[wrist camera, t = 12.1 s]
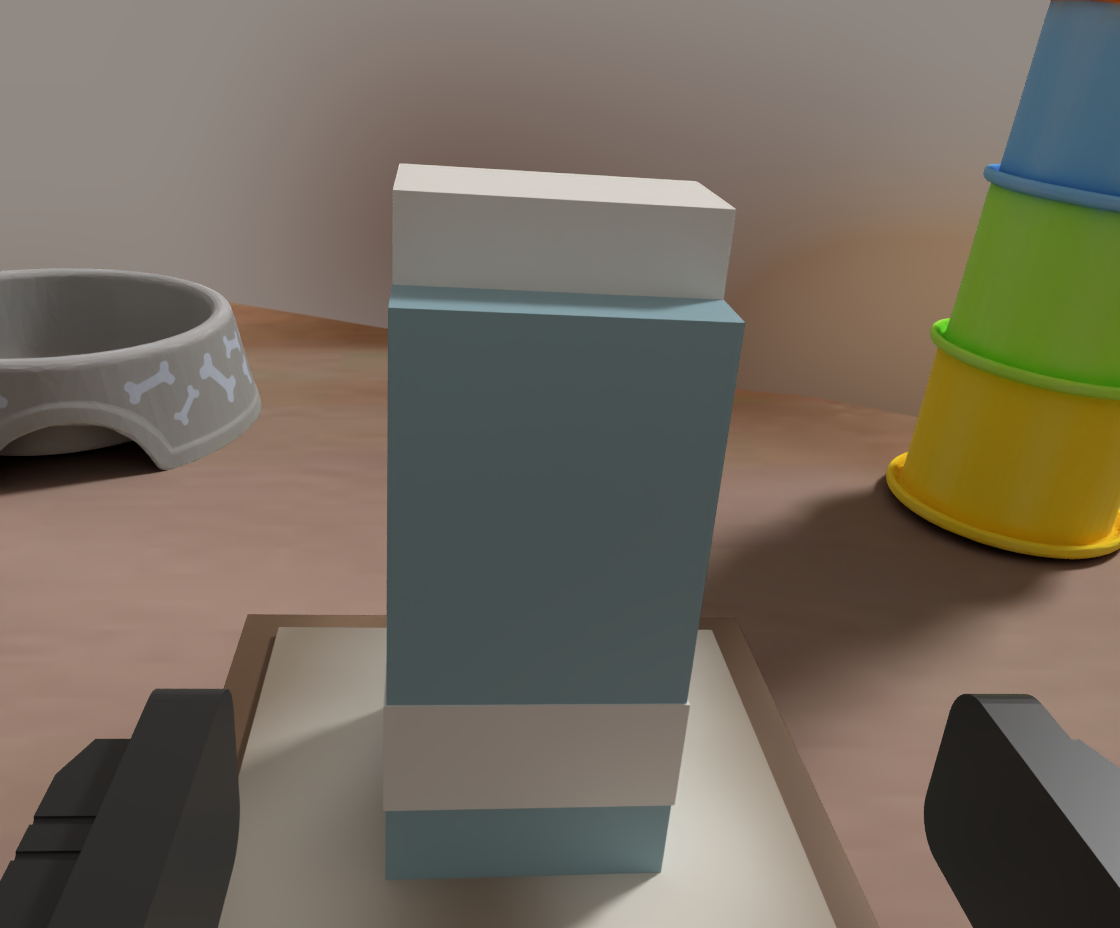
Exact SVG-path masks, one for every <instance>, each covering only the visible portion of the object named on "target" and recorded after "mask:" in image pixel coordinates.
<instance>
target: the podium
mask: <svg viewBox="0 0 1120 928" xmlns="http://www.w3.org/2000/svg"><path fill="white" fill-rule="evenodd" d="M386 662H387V615H263V614H248V615H247V618H246V621H245V624H244V627H243V631H242V634H241V637H240V640H239V643H238V646H237V649H236V652H235V655H234V658H233V661H232V664H231V667H230V670H229V674H228V677H227V680H226V683H225V686H224V689H229V690H230V692H231V695H232V700H233V708H234V722H235V737H236V752H237V766H238V781H239V796H240V824H239V836H238V845H237V851H236V857H235V862H234V867H233V871H232V875H231V878H230V882H229V886H228V890H227V894H226V898H225V902H224V906H223V910H222V913H221V917H220V921H219V925H218V928H880V927H879V925H878V923H877V921H876V919H875V916H874V914H873V912H872V910H871V908H870V906H869V904H868V901H867V899H866V897H865V895H864V893H863V891H862V889H861V886H860V884H859V882H858V880H857V878H856V876H855V873H854V871H853V869H852V867H851V865H850V863H849V861H848V858H847V856H846V854H845V852H844V850H843V848H842V846H841V843H840V841H839V839H838V837H837V835H836V833H835V831H834V828H833V826H832V824H831V822H830V820H829V818H828V816H827V813H826V811H825V809H824V807H823V805H822V803H821V800H820V798H819V796H818V794H817V792H816V790H815V788H814V785H813V783H812V781H811V779H810V777H809V775H808V773H807V770H806V768H805V766H804V764H803V762H802V760H801V758H800V755H799V753H798V751H797V749H796V747H795V745H794V742H793V740H792V738H791V736H790V734H789V732H788V730H787V727H786V725H785V723H784V721H783V719H782V717H781V715H780V712H779V710H778V708H777V706H776V704H775V702H774V700H773V697H772V695H771V693H770V691H769V689H768V687H767V684H766V682H765V680H764V678H763V676H762V674H761V672H760V669H759V667H758V665H757V663H756V661H755V659H754V657H753V654H752V652H751V650H750V648H749V646H748V644H747V642H746V639H745V637H744V635H743V633H742V631H741V629H740V627H739V624H738V622H737V620H736V618H700V621H699V627H698V634H697V640H696V647H695V654H694V660H693V667H692V673H691V680H690V686H689V693H688V701H689V704H690V709H689V715H688V722H687V728H686V735H685V741H684V748H683V754H682V761H681V767H680V773H679V780H678V786H677V793H676V799H675V805H672V806H671V810H670V817H669V823H668V830H667V836H666V843H665V849H664V856H663V862H662V869H661V873H626V874H590V875H554V876H518V877H482V878H447V879H411V880H385V861H386V811H383V705H384V693H385V680H386Z"/></svg>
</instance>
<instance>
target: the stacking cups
mask: <svg viewBox="0 0 1120 928" xmlns="http://www.w3.org/2000/svg"><path fill="white" fill-rule="evenodd" d="M983 174H984V177H985V178H986V180H987V181H989V182H991V185H990V188H989V191H988V193H987V196H986V200H985V203H984V207H983V210H982V214H981V217H980V220H979V224H978V227H977V231H976V234H975V237H974V241H973V245H972V248H971V251H970V255H969V258H968V262H967V265H966V268H965V272H964V275H963V279H962V282H961V285H960V289H959V292H958V295H957V298H956V302H955V305H954V308H953V312H952V314H951V317H950V318H948V319H942V320H939V321H938V322H936V323H934V324H933V325H932V327H931V330H930V336H931V339H932V341H933V342H934V344H935V345H936V346H937V347H938V348H937V352H936V355H935V359H934V362H933V366H932V370H931V373H930V377H929V380H928V384H927V388H926V391H925V395H924V398H923V402H922V405H921V409H920V412H919V416H918V419H917V423H916V426H915V430H914V433H913V436H912V440H911V443H910V447H909V450H908V452H907V453H904V454H902V455H899V456H897V457H896V458H894V459H893V460H892V461H891V462H890V463H889V465H888V468H887V471H886V480H887V484H888V486H889V488H890V490H891V491H892V492H893V494H894V495H895V496H896V497H897V498H898V499H899V501H900V502H902V503H903V504H904V505H905V506H906V507H908V508H909V509H910V510H911V511H913V512H915V513H916V514H918V515H919V516H921V517H922V518H924V519H926V520H927V521H929V522H931V523H933V524H935V525H937V526H939V527H941V528H943V529H946V530H948V531H951V532H953V533H955V534H958V535H960V536H963V537H966V538H968V539H971V540H973V541H976V542H979V543H982V544H986V545H989V546H993V547H996V548H999V549H1003V550H1008V551H1012V552H1016V553H1022V554H1027V555H1033V556H1040V557H1050V558H1061V559H1084V558H1092V557H1098V556H1102V555H1106V554H1109V553H1112V552H1114V551H1116V550H1118V549H1119V548H1120V509H1119V507H1120V0H1051V3H1050V6H1049V8H1048V11H1047V14H1046V18H1045V21H1044V24H1043V27H1042V31H1041V34H1040V37H1039V40H1038V44H1037V47H1036V50H1035V54H1034V57H1033V61H1032V64H1031V67H1030V70H1029V73H1028V77H1027V80H1026V83H1025V87H1024V90H1023V93H1022V96H1021V100H1020V103H1019V106H1018V110H1017V113H1016V116H1015V120H1014V123H1013V126H1012V129H1011V132H1010V136H1009V139H1008V142H1007V145H1006V149H1005V152H1004V155H1003V159H1002V162H1001V164H990V165H988V166H986V167H985V169H984V173H983Z"/></svg>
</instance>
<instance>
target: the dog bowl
mask: <svg viewBox="0 0 1120 928" xmlns="http://www.w3.org/2000/svg"><path fill="white" fill-rule="evenodd" d="M260 410H261V400H260V395H259V392H258V389H257V386H256V384H255V382H254V380H253V377H252V374H251V371H250V367H249V364H248V361H247V358H246V354H245V351H244V348H243V345H242V341H241V338H240V334H239V331H238V328H237V324H236V321H235V318H234V315H233V312H232V309H231V306H230V305H229V303H228V302H227V300H226V299H225V298H224V297H222V296H221V295H220V294H219V293H217V292H216V291H214V290H212V289H210V288H208V287H205V286H203V285H200V284H197V283H194V282H191V281H187V280H183V279H178V278H174V277H169V276H164V275H158V274H151V273H142V272H134V271H121V270H104V269H64V268H63V269H61V268H59V269H30V270H13V271H1V272H0V456H38V455H53V454H65V453H73V452H80V451H87V450H94V449H99V448H104V447H109V446H114V445H118V444H122V443H126V442H130V441H135V442H136V443H138V444H139V445H140V447H141V448H142V449H143V450H145V452H146V453H147V454H148V455H149V456H150V458H151V459H152V461H153V462H154V463H155V464H156V466H157V467H158V468H160V469H163V470H171V469H174V468H177V467H179V466H182V465H185V464H188V463H191V462H193V461H196V460H198V459H200V458H203V457H205V456H207V455H209V454H211V453H213V452H215V451H217V450H219V449H220V448H222V447H224V446H226V445H227V444H229V443H230V442H232V441H234V440H235V439H236V438H238V437H239V436H241V435H242V434H243V433H244V432H245V431H247V430H248V429H249V428H250V427H251V425H252V424H253V423H254V422H255V421H256V419H257V418H258V416H259V413H260Z"/></svg>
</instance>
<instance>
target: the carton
mask: <svg viewBox="0 0 1120 928" xmlns="http://www.w3.org/2000/svg"><path fill="white" fill-rule="evenodd" d="M735 215H736V209H735V208H734V207H732V206H731V205H729V204H728V203H727V202H725V201H724V200H722V199H721V198H719V197H718V196H717V195H715V194H714V193H712V192H711V191H710V190H708V189H707V188H705V187H704V186H703V185H701V184H700V183H698V182H697V181H681V180H664V179H647V178H631V177H615V176H598V175H581V174H565V173H548V172H532V171H531V172H530V171H515V170H498V169H482V168H465V167H449V166H433V165H416V164H399V168H398V172H397V176H396V180H395V184H394V187H393V245H392V247H393V252H392V289H391V295H390V301H389V307H388V464H387V662H386V680H385V693H384V705H383V811H386V861H385V880H411V879H447V878H482V877H518V876H554V875H590V874H626V873H661V869H662V862H663V856H664V849H665V843H666V836H667V830H668V823H669V817H670V810H671V806H672V805H675V799H676V793H677V786H678V780H679V773H680V767H681V761H682V754H683V748H684V741H685V735H686V728H687V722H688V715H689V709H690V704H689V701H688V693H689V686H690V680H691V673H692V667H693V660H694V654H695V647H696V640H697V634H698V627H699V621H700V614H701V608H702V601H703V595H704V588H705V582H706V575H707V569H708V562H709V556H710V549H711V543H712V536H713V529H714V523H715V516H716V510H717V503H718V497H719V490H720V484H721V477H722V471H723V464H724V458H725V451H726V445H727V438H728V432H729V425H730V418H731V412H732V405H733V399H734V392H735V386H736V379H737V372H738V366H739V360H740V353H741V346H742V340H743V333H744V327H745V322H744V321H743V320H742V319H741V318H740V317H739V316H738V315H737V314H736V313H735V312H734V310H732V309H731V307H730V306H729V305H728V304H727V303H726V302H725V301H724V300H723V299H724V292H725V285H726V277H727V271H728V264H729V257H730V250H731V243H732V236H733V229H734V222H735Z"/></svg>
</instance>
